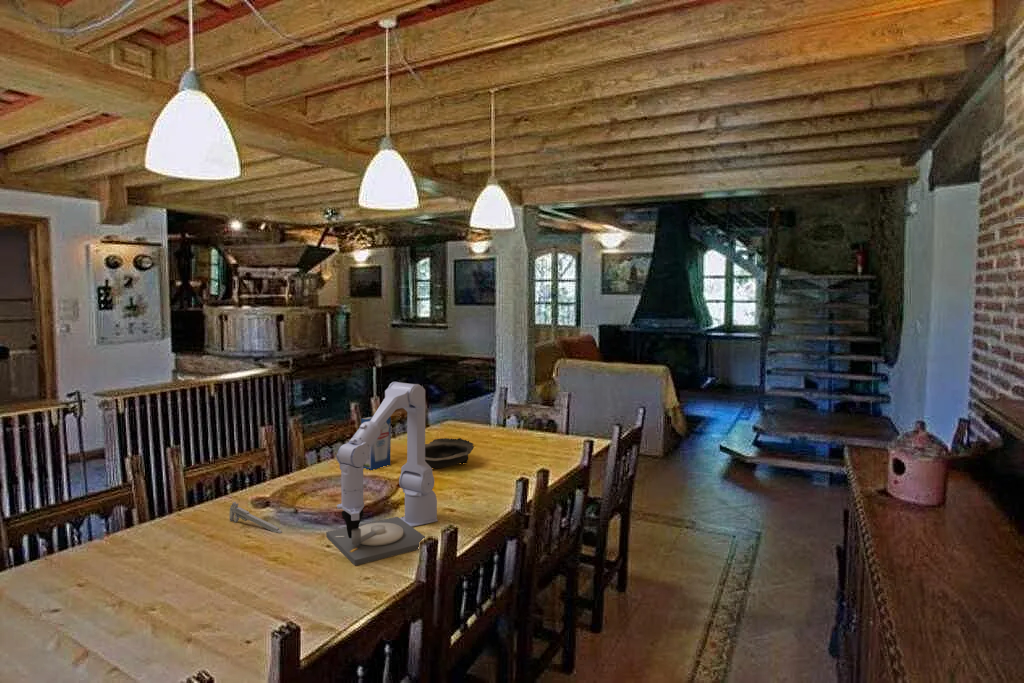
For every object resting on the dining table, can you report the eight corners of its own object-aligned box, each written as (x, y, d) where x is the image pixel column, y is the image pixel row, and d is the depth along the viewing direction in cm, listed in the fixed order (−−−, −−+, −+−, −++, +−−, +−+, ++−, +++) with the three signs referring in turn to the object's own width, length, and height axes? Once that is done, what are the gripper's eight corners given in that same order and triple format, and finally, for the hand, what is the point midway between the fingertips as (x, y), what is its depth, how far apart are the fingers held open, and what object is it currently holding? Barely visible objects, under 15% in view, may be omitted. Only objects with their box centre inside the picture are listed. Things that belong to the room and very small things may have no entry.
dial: (374, 522, 179) (374, 507, 178) (413, 531, 172) (413, 515, 172) (333, 543, 163) (333, 526, 163) (373, 554, 157) (373, 536, 157)
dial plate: (397, 521, 185) (397, 515, 184) (431, 546, 167) (431, 540, 167) (326, 536, 172) (326, 531, 172) (354, 565, 154) (354, 559, 154)
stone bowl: (478, 457, 258) (478, 437, 257) (468, 479, 233) (468, 456, 232) (421, 454, 260) (421, 433, 259) (406, 475, 236) (406, 453, 234)
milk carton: (371, 470, 237) (371, 420, 236) (361, 467, 241) (361, 418, 239) (390, 465, 245) (390, 416, 243) (380, 462, 249) (380, 414, 247)
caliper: (229, 522, 182) (229, 502, 182) (232, 521, 183) (232, 500, 183) (279, 534, 174) (279, 513, 173) (282, 533, 175) (282, 512, 174)
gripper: (334, 481, 167) (335, 528, 168) (339, 498, 153) (339, 549, 154) (360, 479, 169) (361, 525, 170) (367, 495, 156) (367, 546, 157)
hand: (352, 537), depth 162 cm, fingers closed
